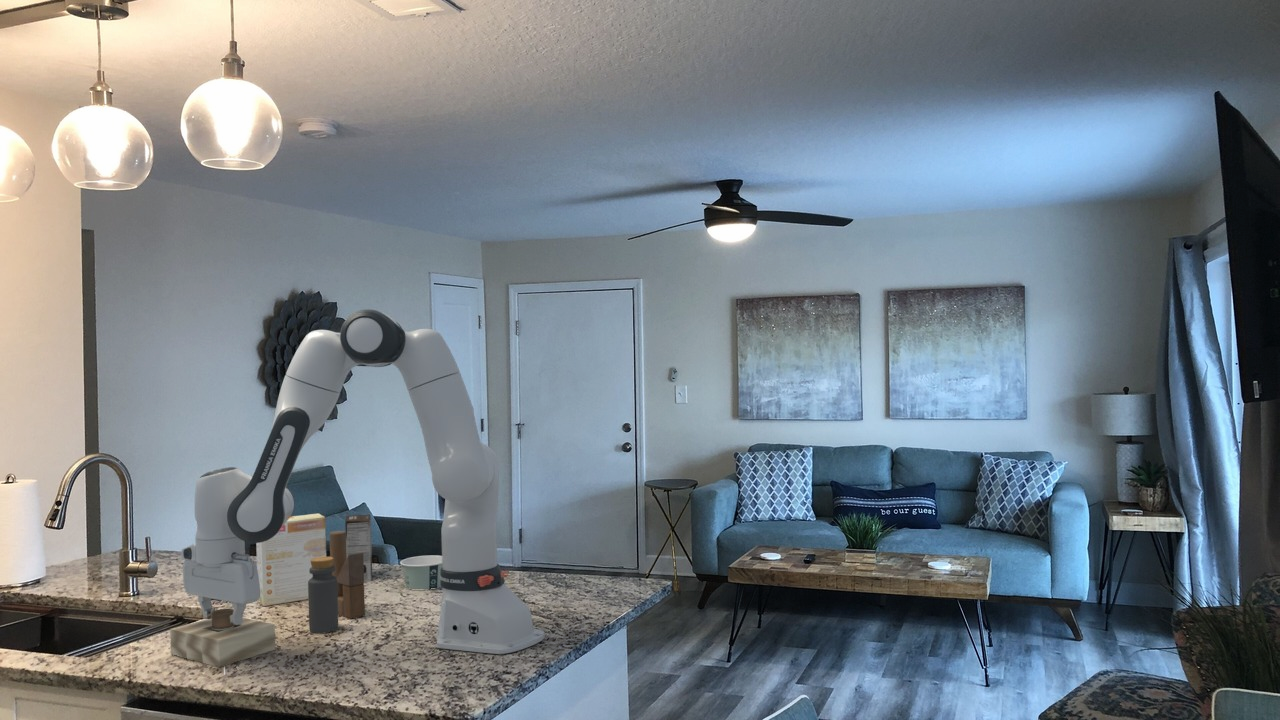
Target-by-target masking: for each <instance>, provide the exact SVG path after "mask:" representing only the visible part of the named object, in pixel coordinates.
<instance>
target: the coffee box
mask: <svg viewBox="0 0 1280 720" xmlns="http://www.w3.org/2000/svg"><path fill="white" fill-rule="evenodd" d="M344 524H345V528H344V529H345V532H346V555H347V557H348V555H352V554H357V553H363V561H364V583H367V582H372V580H373V558H372V557H373V555H372V553H373V552H372V551H373V549H372V548H373V547H372V521H371V514H349V515H345V523H344Z"/></svg>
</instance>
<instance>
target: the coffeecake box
mask: <svg viewBox="0 0 1280 720" xmlns="http://www.w3.org/2000/svg"><path fill="white" fill-rule="evenodd" d="M326 537H327V535H326V516H324V515H322V514H320V513H310V514H302V515H301V514H300V515H294V516H293V515H291V517H290V518H289V519H288V520H287V522H286V523H285V524H284V525H283V526H282V527H281V528H280V530H279V531H278V533H277V534H276V535H275V536H274V537H272V538H271V539H269V540H267V541H264V542H260V543H255V544H256V547H255V549H256V567H257V570H258V576H259V583H260V597H259V599H258V601H257V602H259V601H260V602H259V603H260V604H261V605H262V606H263V607H266V606H267V607H268V606H273V605H280V604H286V603H291V602H300V601H304V600H308V581H309V580H310V579H311V578H312V577H313V575H312V574H311V573H310V568H311V567H312V566H311V562H310V560H311V559H313V558H317V557H327V543H326V542H327V540H326V539H327V538H326Z"/></svg>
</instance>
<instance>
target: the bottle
mask: <svg viewBox="0 0 1280 720" xmlns="http://www.w3.org/2000/svg"><path fill="white" fill-rule="evenodd" d="M333 559H334V558H333V557H330V556H326V557H317V558H313V559H311V560H310V562H311V566H312V567H311V568H310V573H311V574H312V575H313V577H312V578H311V579H310V580H309V581H308V599H307V600H308V626H309V627H308V629H309V632H310V633H312V634H325V633H324V632H326V633H330V631H331V632H334V631H336V630H338V629H339V614H338V594H337V578H336V577H335V576H333V575H332V572H334V571H335V566H334V565H333ZM337 628H338V629H337ZM333 630H334V631H333Z"/></svg>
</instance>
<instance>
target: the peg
mask: <svg viewBox="0 0 1280 720" xmlns="http://www.w3.org/2000/svg"><path fill="white" fill-rule="evenodd" d="M233 611H234V608H221V609H217V610H216V609H215V611H213V612H212V631H217V632H220V631H223V630H227V629H230V628H234V625H233V624H231V623H230V615H233Z"/></svg>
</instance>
